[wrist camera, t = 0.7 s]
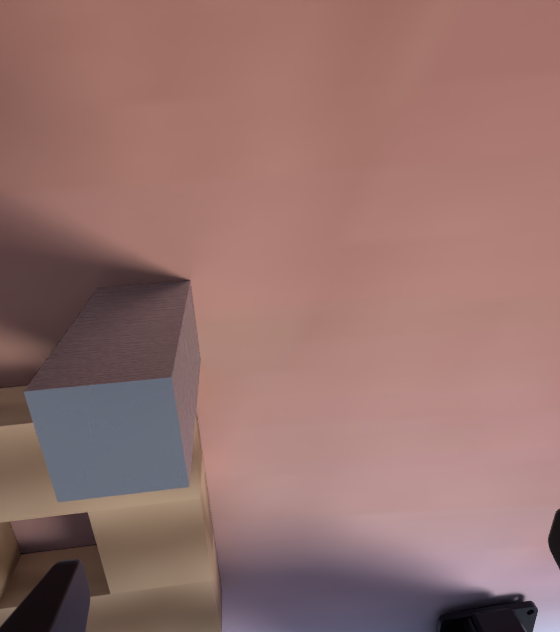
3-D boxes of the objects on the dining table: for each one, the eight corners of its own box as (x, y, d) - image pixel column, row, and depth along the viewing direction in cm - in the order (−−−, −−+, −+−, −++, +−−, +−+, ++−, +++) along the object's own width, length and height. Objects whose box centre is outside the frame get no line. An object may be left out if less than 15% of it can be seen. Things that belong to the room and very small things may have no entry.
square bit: (200, 359, 21) (189, 487, 14) (115, 367, 21) (57, 502, 14) (190, 280, 20) (171, 377, 12) (98, 287, 19) (23, 391, 12)
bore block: (221, 590, 27) (221, 643, 25) (-46, 627, 26) (-77, 687, 23) (190, 369, 21) (186, 407, 19) (-157, 403, 20) (-217, 448, 17)
